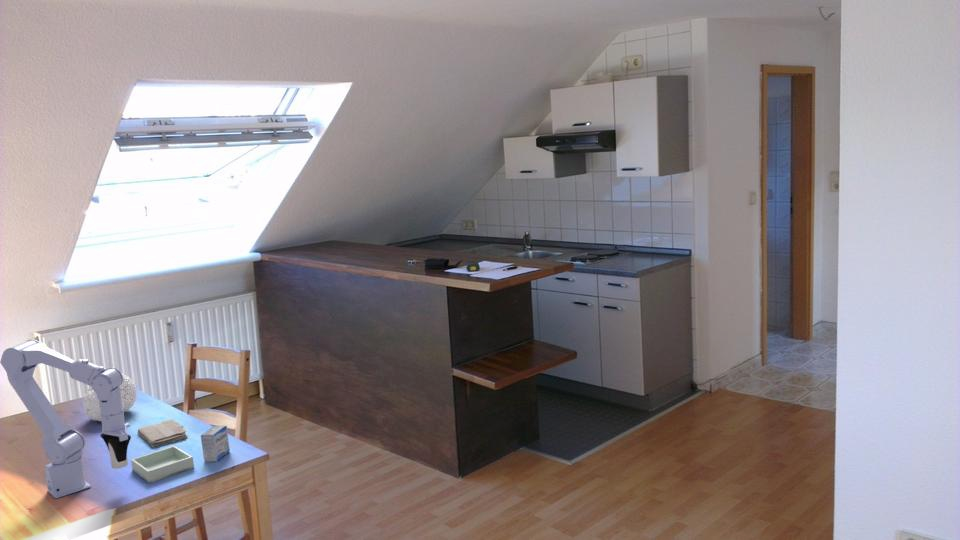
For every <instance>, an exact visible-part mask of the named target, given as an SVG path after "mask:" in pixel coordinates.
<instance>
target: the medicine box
mask: <svg viewBox="0 0 960 540" xmlns="http://www.w3.org/2000/svg"><path fill="white" fill-rule="evenodd" d="M200 440H201V446H202V447H201V448H202V454H203V455H202V456H203V461H204V462H208V463H209V462H211V463H212V462H214V463H216V462H217V461H218V462H219V461H220V460H222V458H224V457H225V456H226V455H228V453H229V452H231V450H230V444H229V443H230V441H229V435H228V427H227V425H221V424H220V425H213V426H212V427H210V428H209V429H207V430H206V431H205V432H203V433H202V434H200ZM224 455H225V456H224ZM218 462H217V463H218Z"/></svg>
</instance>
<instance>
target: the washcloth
mask: <svg viewBox="0 0 960 540" xmlns="http://www.w3.org/2000/svg"><path fill="white" fill-rule="evenodd" d="M186 432H187V430H186V429H185V428H184V426H183V425H181V424H180V423H179V422H178V421H176V420H175V419H173V418H172V419H167V420H165V421H161V422H159V423H156V424H151V425H147V426H143V427H139V428H138V429H137V434H138V436H140V437H142V438H143V439H144V440H145V442H147V443H148V444H149V446H151V447H152V448H155V447H161V446H164V445H169V444H171V443H176V442H178V441H183V440H186V439H188V435H187V434H186ZM182 439H183V440H182Z"/></svg>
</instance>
